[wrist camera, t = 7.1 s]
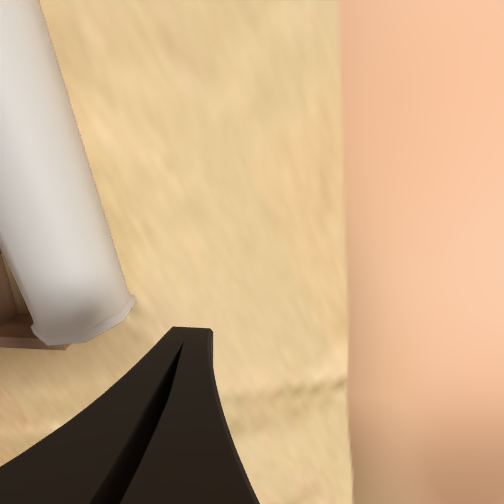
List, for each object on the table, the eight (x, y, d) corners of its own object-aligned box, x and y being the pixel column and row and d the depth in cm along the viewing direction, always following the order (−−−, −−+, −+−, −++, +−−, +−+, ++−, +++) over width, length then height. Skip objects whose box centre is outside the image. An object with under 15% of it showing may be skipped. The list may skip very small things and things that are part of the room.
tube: (-377, -447, 8) (14, 340, 17) (-323, -664, 6) (84, 352, 15) (-99, -234, 12) (90, 293, 21) (-21, -318, 11) (151, 298, 19)
